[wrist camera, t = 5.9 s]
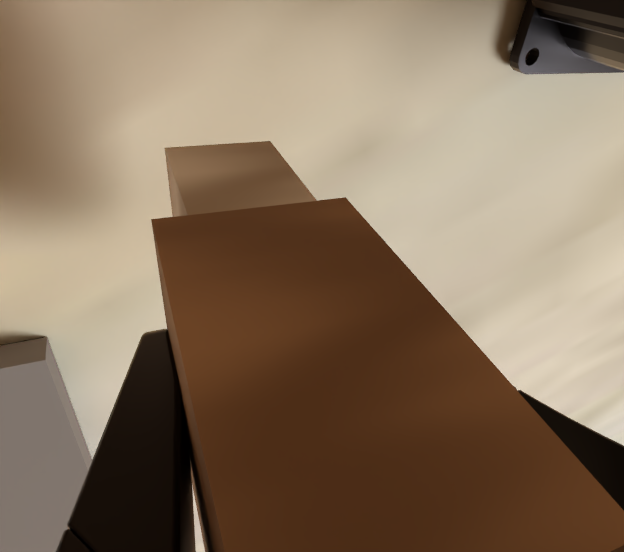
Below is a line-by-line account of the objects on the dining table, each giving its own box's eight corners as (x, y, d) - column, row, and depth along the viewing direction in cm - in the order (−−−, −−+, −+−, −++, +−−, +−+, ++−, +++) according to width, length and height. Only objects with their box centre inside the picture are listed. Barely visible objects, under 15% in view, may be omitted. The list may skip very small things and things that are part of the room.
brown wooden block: (294, 139, 9) (644, 536, 4) (282, 322, 12) (462, 698, 7) (136, 149, 8) (262, 723, 3) (166, 346, 11) (255, 814, 6)
